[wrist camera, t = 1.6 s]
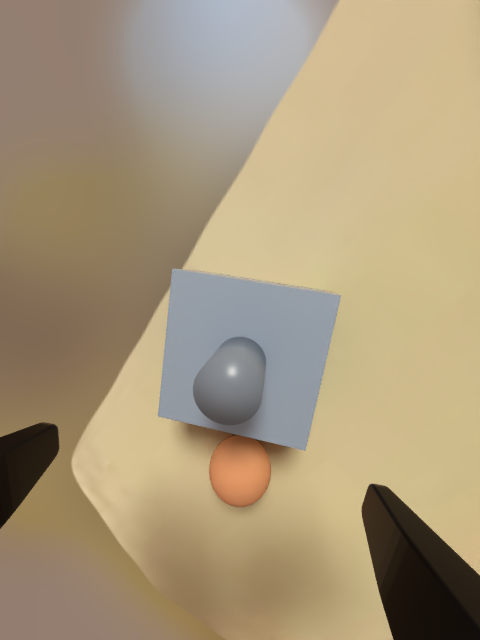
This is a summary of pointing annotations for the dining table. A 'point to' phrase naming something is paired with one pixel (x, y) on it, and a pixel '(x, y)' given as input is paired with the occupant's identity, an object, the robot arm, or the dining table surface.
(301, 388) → the block with rounded knob
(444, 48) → the dining table surface
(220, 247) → the dining table surface
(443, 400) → the dining table surface
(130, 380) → the dining table surface
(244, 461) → the ball
